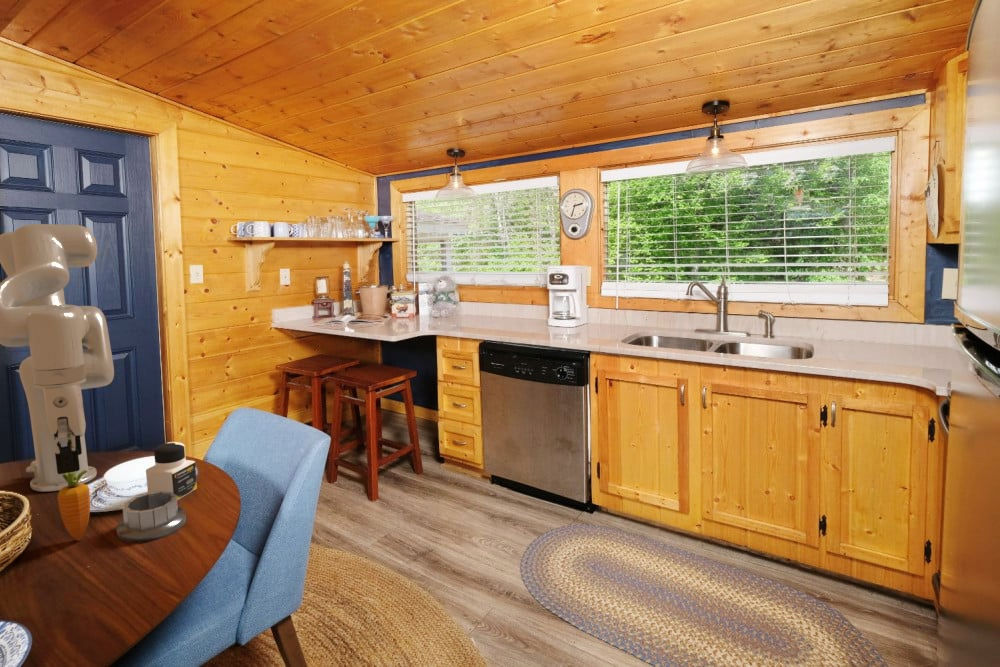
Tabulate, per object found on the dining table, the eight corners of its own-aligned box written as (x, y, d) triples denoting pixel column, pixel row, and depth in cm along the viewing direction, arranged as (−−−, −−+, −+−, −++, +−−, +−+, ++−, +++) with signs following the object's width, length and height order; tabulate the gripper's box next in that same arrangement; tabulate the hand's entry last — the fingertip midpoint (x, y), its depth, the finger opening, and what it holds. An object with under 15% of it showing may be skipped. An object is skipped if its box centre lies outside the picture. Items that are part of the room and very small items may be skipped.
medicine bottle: (174, 502, 123) (170, 452, 121) (147, 499, 125) (142, 449, 123) (197, 488, 130) (194, 440, 128) (172, 485, 131) (168, 438, 129)
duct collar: (102, 539, 108) (99, 513, 107) (147, 510, 119) (145, 486, 119) (158, 544, 106) (155, 518, 105) (198, 514, 118) (196, 490, 117)
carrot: (73, 534, 109) (65, 463, 107) (100, 533, 110) (92, 462, 107) (56, 548, 104) (47, 474, 102) (84, 547, 105) (76, 473, 103)
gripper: (83, 382, 97) (93, 474, 99) (86, 365, 111) (95, 446, 113) (28, 388, 92) (40, 484, 95) (38, 369, 106) (49, 453, 109)
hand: (70, 463), depth 104 cm, fingers open, 9 cm apart
